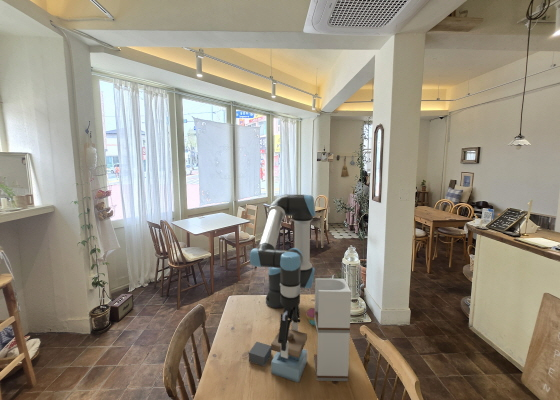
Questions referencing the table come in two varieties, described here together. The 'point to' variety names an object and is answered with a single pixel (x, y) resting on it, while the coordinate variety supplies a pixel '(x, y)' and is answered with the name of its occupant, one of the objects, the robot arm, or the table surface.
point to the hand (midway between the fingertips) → (289, 346)
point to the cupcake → (311, 316)
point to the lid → (291, 343)
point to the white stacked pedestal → (332, 329)
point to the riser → (260, 353)
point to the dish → (289, 366)
